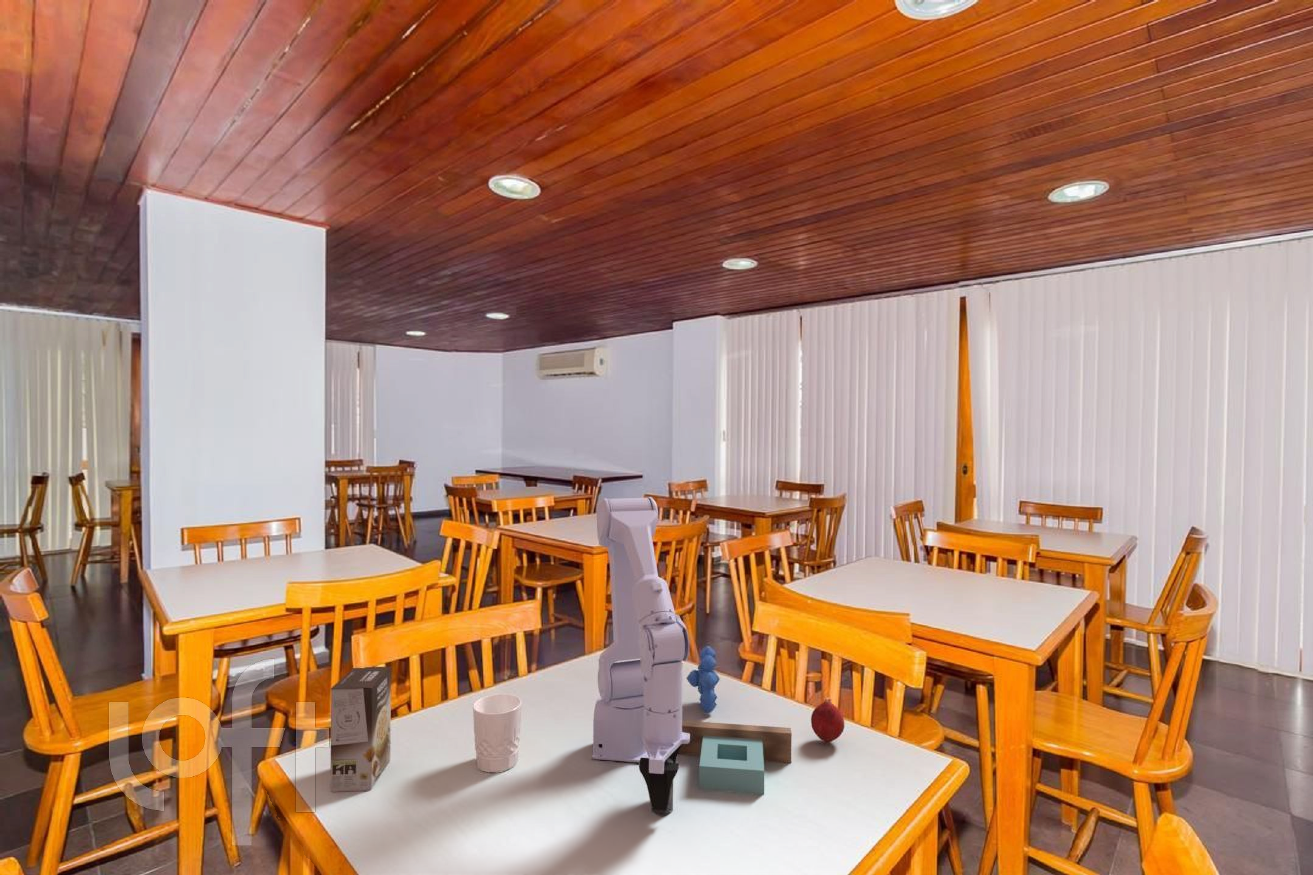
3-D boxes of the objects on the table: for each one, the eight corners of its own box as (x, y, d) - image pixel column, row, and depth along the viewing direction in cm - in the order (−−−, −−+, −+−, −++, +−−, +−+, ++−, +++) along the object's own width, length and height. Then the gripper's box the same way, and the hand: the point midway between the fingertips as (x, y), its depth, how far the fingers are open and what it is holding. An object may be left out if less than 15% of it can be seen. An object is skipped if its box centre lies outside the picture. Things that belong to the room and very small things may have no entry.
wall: (673, 753, 110) (673, 725, 110) (674, 748, 112) (674, 719, 112) (791, 762, 107) (791, 733, 107) (790, 756, 109) (790, 727, 109)
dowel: (649, 814, 93) (650, 766, 93) (652, 801, 96) (653, 755, 96) (671, 816, 92) (672, 768, 92) (674, 803, 95) (674, 757, 95)
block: (699, 791, 99) (699, 765, 99) (703, 758, 109) (703, 735, 109) (764, 796, 98) (764, 770, 98) (762, 762, 108) (762, 739, 108)
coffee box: (372, 791, 98) (372, 687, 98) (329, 792, 98) (329, 688, 97) (391, 760, 107) (391, 665, 107) (352, 761, 107) (352, 666, 106)
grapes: (685, 695, 134) (686, 638, 134) (718, 695, 134) (718, 639, 134) (686, 720, 123) (686, 658, 122) (721, 721, 122) (722, 659, 122)
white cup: (530, 762, 107) (530, 703, 107) (489, 780, 101) (489, 718, 101) (504, 745, 112) (504, 689, 112) (463, 762, 107) (463, 703, 106)
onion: (845, 752, 111) (846, 706, 111) (811, 748, 112) (811, 703, 112) (842, 736, 117) (843, 693, 116) (810, 733, 118) (810, 690, 118)
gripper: (685, 729, 86) (684, 828, 86) (693, 686, 100) (692, 771, 101) (634, 726, 87) (633, 824, 87) (649, 683, 101) (648, 768, 102)
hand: (662, 796), depth 94 cm, fingers open, 6 cm apart
